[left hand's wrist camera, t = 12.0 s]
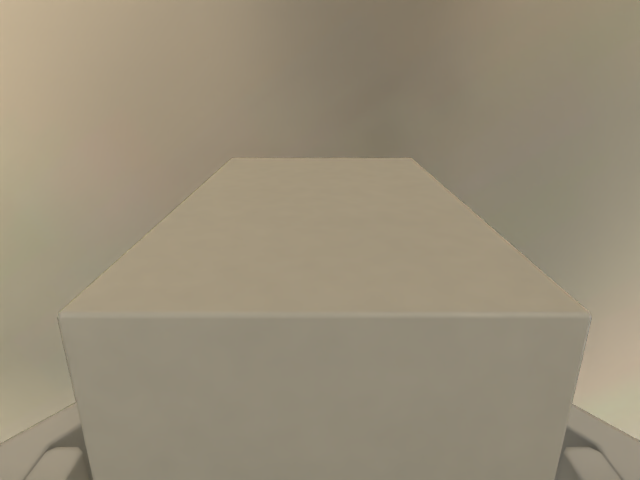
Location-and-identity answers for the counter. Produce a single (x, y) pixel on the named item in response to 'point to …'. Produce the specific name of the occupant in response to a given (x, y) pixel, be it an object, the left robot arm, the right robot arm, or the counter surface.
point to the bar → (323, 336)
